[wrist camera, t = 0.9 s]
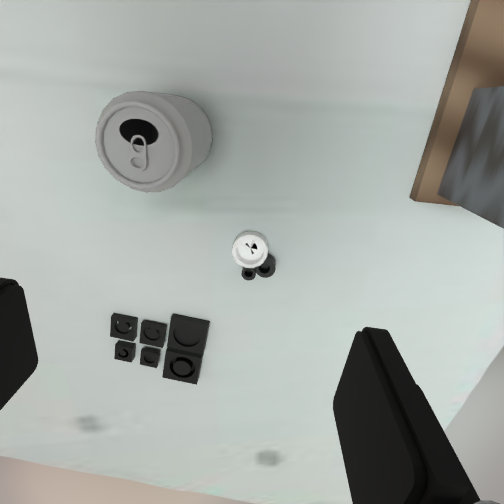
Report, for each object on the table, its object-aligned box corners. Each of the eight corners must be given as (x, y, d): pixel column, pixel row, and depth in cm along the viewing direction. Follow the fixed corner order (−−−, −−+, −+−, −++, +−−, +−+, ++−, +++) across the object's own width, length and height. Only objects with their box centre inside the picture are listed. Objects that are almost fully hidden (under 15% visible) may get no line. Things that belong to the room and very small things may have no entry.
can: (215, 100, 32) (188, 96, 22) (211, 174, 36) (186, 203, 25) (142, 91, 32) (78, 83, 22) (145, 166, 36) (90, 192, 25)
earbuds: (281, 234, 39) (282, 243, 36) (242, 386, 49) (240, 404, 45) (124, 199, 39) (110, 205, 36) (114, 358, 48) (103, 374, 45)
